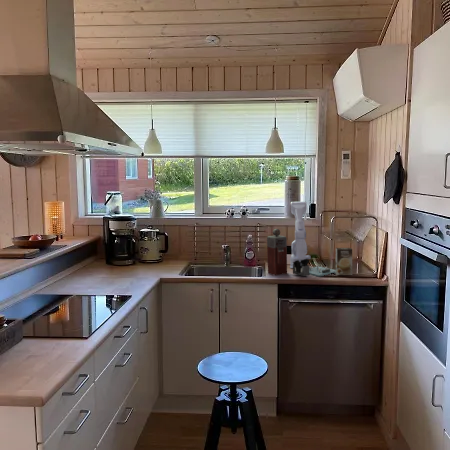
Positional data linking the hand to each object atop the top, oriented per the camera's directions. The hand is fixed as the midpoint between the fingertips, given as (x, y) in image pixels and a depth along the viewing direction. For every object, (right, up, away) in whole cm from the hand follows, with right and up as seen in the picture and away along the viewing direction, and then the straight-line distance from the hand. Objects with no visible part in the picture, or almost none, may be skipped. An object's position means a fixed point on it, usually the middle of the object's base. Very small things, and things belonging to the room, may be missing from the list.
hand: (301, 272), depth 272 cm
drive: (0, -2, 0) cm, 2 cm away
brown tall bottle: (-13, -2, +9) cm, 16 cm away
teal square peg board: (+12, -1, +9) cm, 15 cm away
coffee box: (+26, -2, 0) cm, 26 cm away
